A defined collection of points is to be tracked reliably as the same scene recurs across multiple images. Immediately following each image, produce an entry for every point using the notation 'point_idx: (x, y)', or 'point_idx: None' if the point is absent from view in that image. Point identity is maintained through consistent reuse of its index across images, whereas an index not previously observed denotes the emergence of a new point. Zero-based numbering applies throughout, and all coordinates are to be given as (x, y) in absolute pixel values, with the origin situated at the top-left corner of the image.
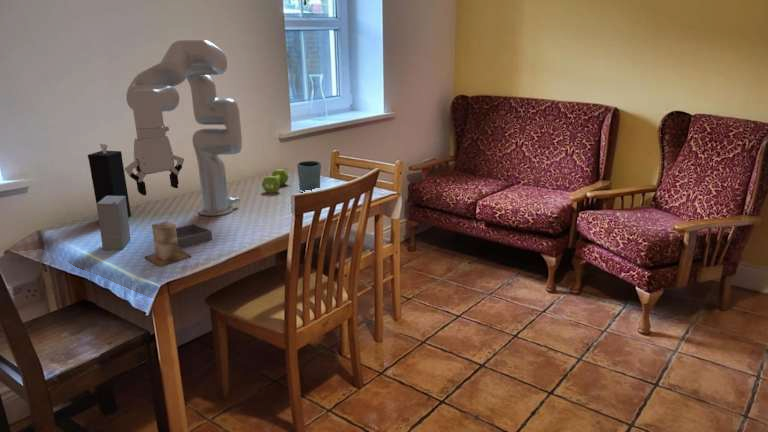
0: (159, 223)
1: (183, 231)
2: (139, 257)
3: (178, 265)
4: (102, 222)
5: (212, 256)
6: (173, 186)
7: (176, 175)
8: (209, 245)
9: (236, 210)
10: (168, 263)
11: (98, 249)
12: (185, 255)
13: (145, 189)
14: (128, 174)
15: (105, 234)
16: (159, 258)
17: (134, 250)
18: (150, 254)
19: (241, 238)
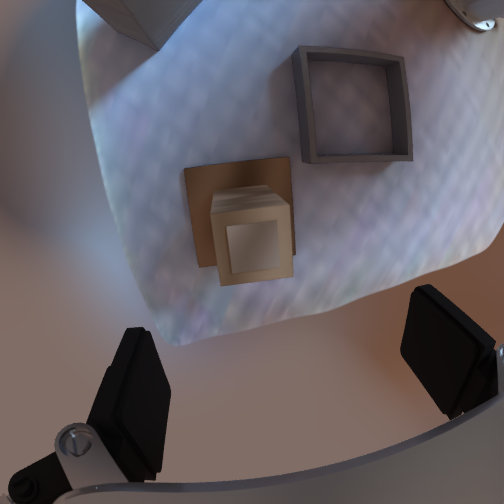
0: (243, 225)
1: (360, 59)
2: (173, 151)
3: (242, 286)
4: (87, 2)
5: (335, 282)
6: (408, 331)
7: (459, 414)
8: (371, 199)
9: (493, 32)
10: None
11: None
12: None
13: (164, 422)
14: (10, 497)
15: (107, 18)
16: None
17: (182, 80)
18: (203, 166)
19: (440, 211)
